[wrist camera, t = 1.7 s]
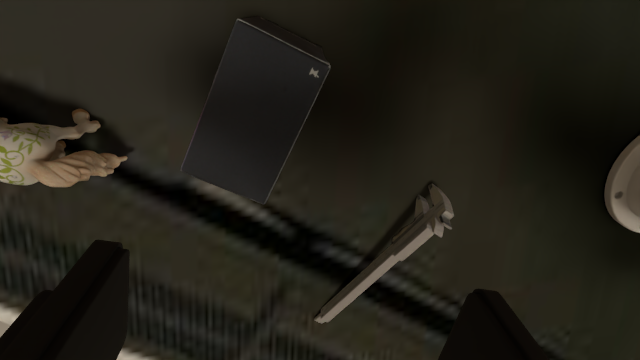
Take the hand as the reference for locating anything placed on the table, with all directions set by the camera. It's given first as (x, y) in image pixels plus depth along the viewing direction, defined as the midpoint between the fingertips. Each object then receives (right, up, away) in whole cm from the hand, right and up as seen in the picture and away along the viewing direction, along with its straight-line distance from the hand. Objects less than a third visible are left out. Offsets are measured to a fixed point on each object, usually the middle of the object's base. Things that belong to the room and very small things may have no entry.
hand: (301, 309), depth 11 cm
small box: (-4, +12, +23) cm, 26 cm away
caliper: (+6, -4, +31) cm, 32 cm away
